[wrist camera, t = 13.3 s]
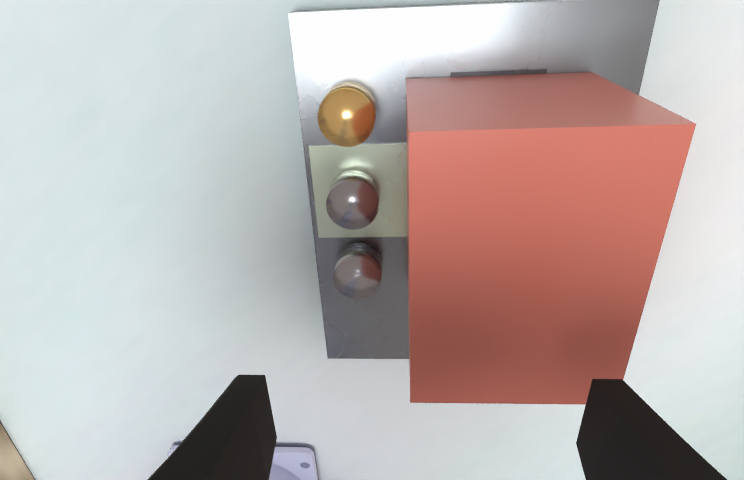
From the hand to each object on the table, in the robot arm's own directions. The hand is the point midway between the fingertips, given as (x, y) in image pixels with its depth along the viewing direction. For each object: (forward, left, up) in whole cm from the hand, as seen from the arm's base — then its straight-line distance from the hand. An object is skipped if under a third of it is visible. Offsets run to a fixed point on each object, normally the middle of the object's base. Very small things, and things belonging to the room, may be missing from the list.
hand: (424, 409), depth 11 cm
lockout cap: (+2, -3, -8) cm, 9 cm away
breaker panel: (+1, -2, -9) cm, 10 cm away
